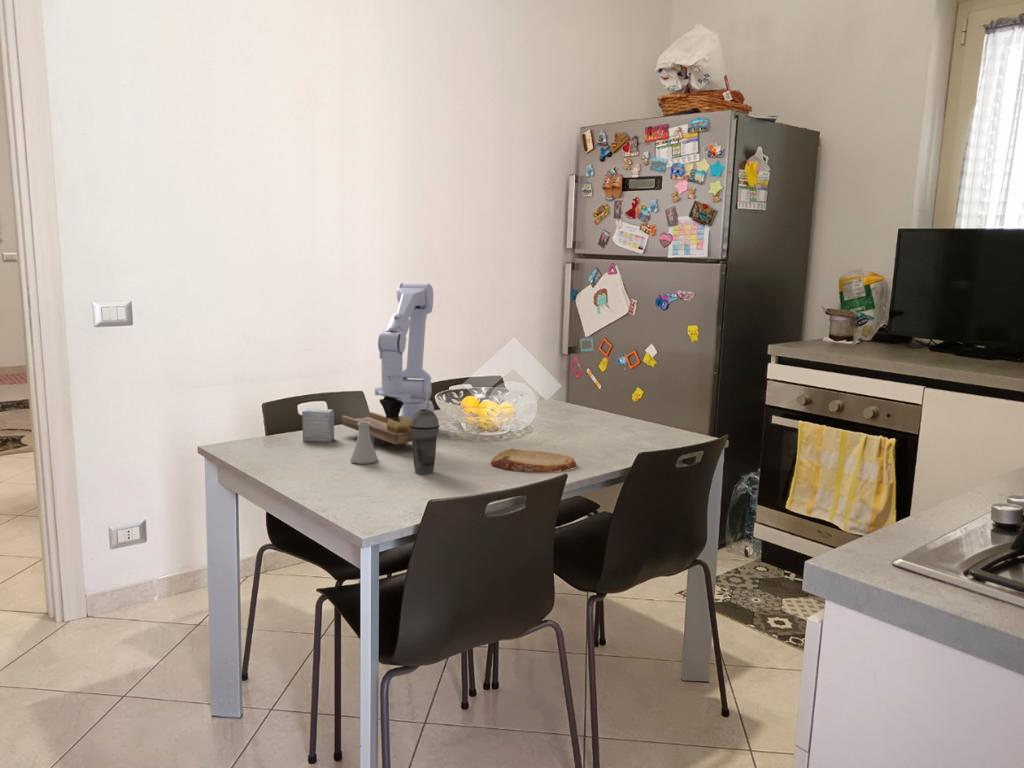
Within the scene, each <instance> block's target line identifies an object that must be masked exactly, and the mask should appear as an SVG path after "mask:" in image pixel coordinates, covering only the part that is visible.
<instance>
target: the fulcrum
mask: <svg viewBox="0 0 1024 768" xmlns="http://www.w3.org/2000/svg"><path fill="white" fill-rule="evenodd" d="M370 438H371V441H372V444H373V446H380V445H385V444H390V442H387V441H384V440H382V439H379V438H376V437H374V436H371V435H370Z"/></svg>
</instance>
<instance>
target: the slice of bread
mask: <svg viewBox="0 0 1024 768" xmlns="http://www.w3.org/2000/svg"><path fill="white" fill-rule="evenodd" d="M490 465H491V466H492V467H494V468H499V469H503V470H504V471H505V470H506V471H512V472H521V473H523V472H524V473H556V472H555V471H560V470H561V471H560V472H565V471H564V470H567V469H571V468H574V467H576V466H577V467H578V464H577V463H576V461H575V459H574V457H572V456H570V455H566V454H561V453H553V452H548V451H535V450H525V449H517V448H516V449H514V447H513V448H510V449H506V450H504V451H502V452H500V453H498V454H497V455H495V456H494V457H493V458H492V459H491V462H490ZM577 467H576V468H577ZM574 469H575V468H574ZM571 470H572V469H571ZM567 471H568V470H567Z"/></svg>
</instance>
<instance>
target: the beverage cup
mask: <svg viewBox="0 0 1024 768" xmlns="http://www.w3.org/2000/svg"><path fill="white" fill-rule="evenodd" d="M430 398H431V396H430V391H428V399H427V406H426V409H421V410H419V411H417V412H416V413H414V415H413V416H412V418H411V420H410V425H409V427H410V432H411V435H412V442H411V445H412V446H411V448H412V455H413V456H412V457H413V466H414V473H415V474H416V475H431V474H434V469H435V465H436V463H435V462H436V453H437V452H436V451H437V441H438V439H437V438H438V434H439V427H440V423H439V419H438V416H437V415H436V413H435V412H434V413H433V412H432V411H430V410H428V408H429V400H430ZM430 401H431V400H430Z"/></svg>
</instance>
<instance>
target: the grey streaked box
mask: <svg viewBox="0 0 1024 768" xmlns="http://www.w3.org/2000/svg"><path fill="white" fill-rule="evenodd" d="M334 412H335V411H334V409H327V408H325V409H324V408H322V409H321V408H307V409H304V410H302V412H301V416H302V418H301V419H302V423H301V424H302V441H303V442H319V443H321V442H322V443H323V442H324V443H326V442H327V443H330V442H332V441H333V440H334V439H335V414H334Z"/></svg>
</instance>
